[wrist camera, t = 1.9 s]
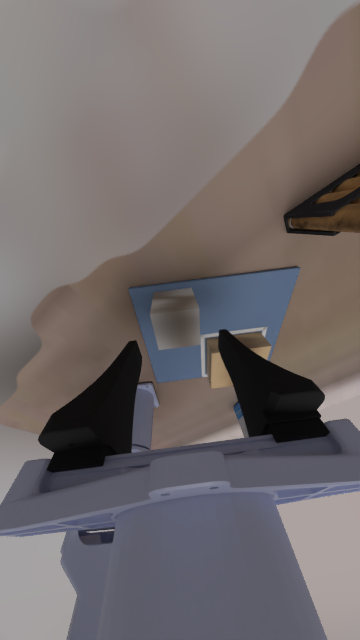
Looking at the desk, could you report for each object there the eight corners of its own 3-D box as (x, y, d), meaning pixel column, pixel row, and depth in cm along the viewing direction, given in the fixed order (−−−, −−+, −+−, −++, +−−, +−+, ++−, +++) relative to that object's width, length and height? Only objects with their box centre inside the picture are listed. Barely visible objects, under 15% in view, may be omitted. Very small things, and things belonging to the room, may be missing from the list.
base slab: (206, 372, 27) (210, 388, 24) (206, 338, 22) (211, 353, 20) (251, 367, 27) (260, 382, 25) (260, 331, 23) (271, 345, 20)
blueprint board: (157, 380, 28) (157, 383, 27) (129, 287, 18) (128, 289, 17) (265, 366, 28) (267, 369, 28) (297, 266, 18) (301, 267, 18)
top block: (160, 323, 20) (158, 350, 16) (153, 292, 18) (149, 314, 14) (193, 319, 20) (200, 344, 16) (191, 287, 18) (199, 308, 14)
